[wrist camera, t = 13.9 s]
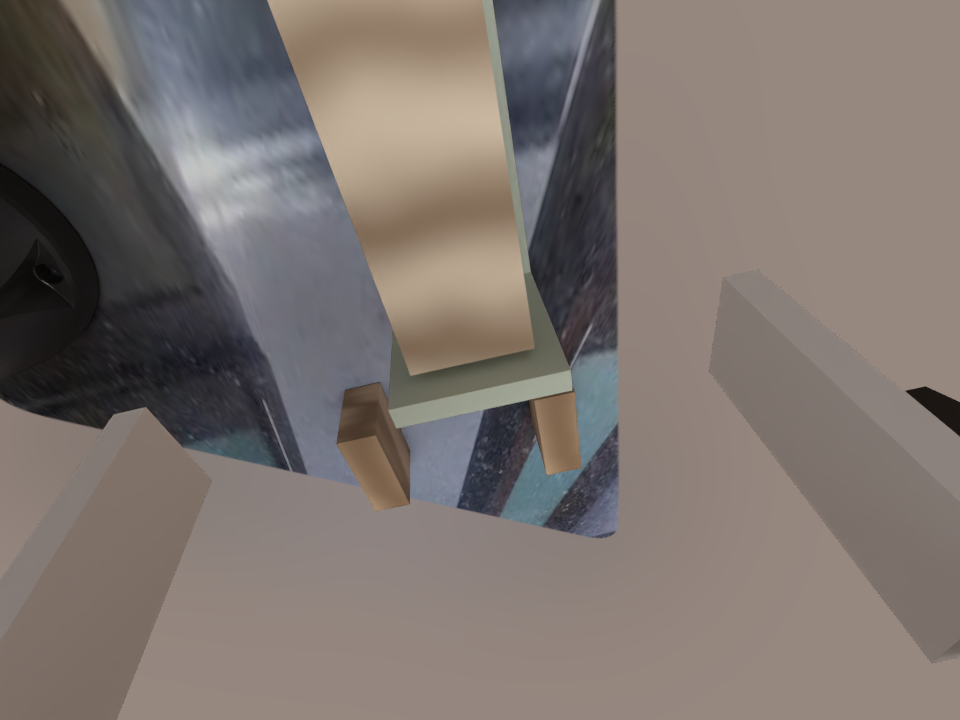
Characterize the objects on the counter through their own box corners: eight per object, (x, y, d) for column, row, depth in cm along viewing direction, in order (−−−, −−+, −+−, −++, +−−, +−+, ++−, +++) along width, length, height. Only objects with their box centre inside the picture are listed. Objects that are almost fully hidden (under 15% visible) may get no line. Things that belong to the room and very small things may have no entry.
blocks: (379, 457, 46) (375, 511, 41) (345, 390, 40) (336, 443, 35) (563, 417, 45) (581, 467, 40) (555, 343, 39) (574, 392, 35)
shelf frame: (530, 283, 36) (572, 390, 26) (400, 312, 36) (396, 428, 27) (468, -148, 21) (512, -248, 12) (255, -93, 22) (137, -149, 12)
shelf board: (268, -42, 17) (250, -45, 15) (460, -91, 17) (467, -100, 15) (410, 348, 28) (410, 375, 26) (526, 322, 28) (535, 348, 26)
